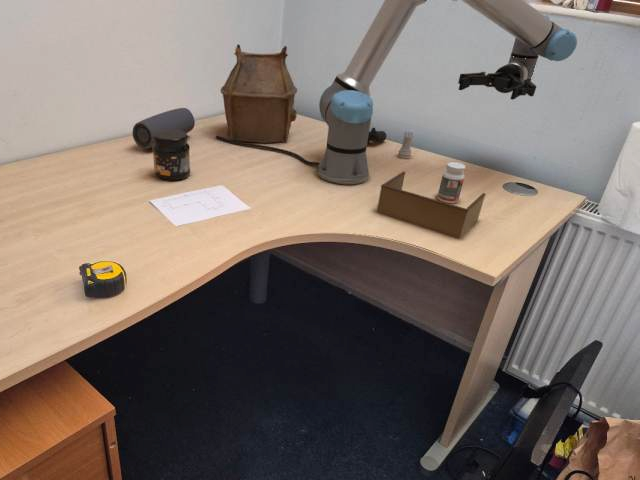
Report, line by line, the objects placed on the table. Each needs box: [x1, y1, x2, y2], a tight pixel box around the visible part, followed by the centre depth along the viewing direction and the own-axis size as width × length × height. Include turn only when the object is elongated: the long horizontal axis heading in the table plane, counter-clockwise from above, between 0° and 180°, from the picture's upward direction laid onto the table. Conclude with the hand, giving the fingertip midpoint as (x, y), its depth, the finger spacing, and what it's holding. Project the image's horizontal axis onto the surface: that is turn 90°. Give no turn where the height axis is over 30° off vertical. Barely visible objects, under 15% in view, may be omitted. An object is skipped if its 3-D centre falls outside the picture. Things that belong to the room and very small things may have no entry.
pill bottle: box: [436, 161, 466, 204], centre depth 142 cm, size 6×6×10 cm
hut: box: [220, 43, 298, 144], centre depth 179 cm, size 23×27×30 cm
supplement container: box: [151, 130, 191, 182], centre depth 149 cm, size 10×10×12 cm
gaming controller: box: [367, 127, 387, 144], centre depth 184 cm, size 17×6×10 cm
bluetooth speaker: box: [132, 107, 196, 149], centre depth 173 cm, size 23×9×10 cm, turn 150°
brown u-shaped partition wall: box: [376, 171, 486, 239], centre depth 133 cm, size 13×22×8 cm, turn 52°
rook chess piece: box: [397, 131, 414, 160], centre depth 171 cm, size 4×4×8 cm
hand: (486, 89), depth 136 cm, fingers open, 13 cm apart
